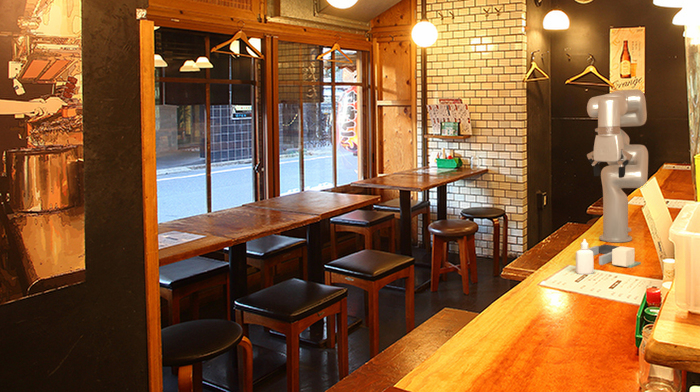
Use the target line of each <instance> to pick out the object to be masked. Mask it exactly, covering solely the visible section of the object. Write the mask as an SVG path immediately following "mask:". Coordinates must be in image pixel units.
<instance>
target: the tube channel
mask: <svg viewBox="0 0 700 392" xmlns="http://www.w3.org/2000/svg"><path fill="white" fill-rule="evenodd" d="M599 246H600V245H594V246H591V247H588V249H589V250H591V251H593V257H594V256H597V255H599V256H598V264H599V266H603V265H605V264H608V263H611V262H612V252H610V253H607V254H602V255H600V253H599Z"/></svg>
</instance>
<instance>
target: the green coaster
mask: <svg viewBox="0 0 700 392" xmlns="http://www.w3.org/2000/svg"><path fill="white" fill-rule="evenodd" d="M641 263H642V262H641V261H635V260H634V264H631V265H629V266H626V267H625V266H622V267H624V268H630V269H632V268H634V267H637V266H640V265H641ZM611 265H612V266H614V265H613V264H612V263H611ZM617 266H618V267H620V266H619V265H616V267H617Z"/></svg>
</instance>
